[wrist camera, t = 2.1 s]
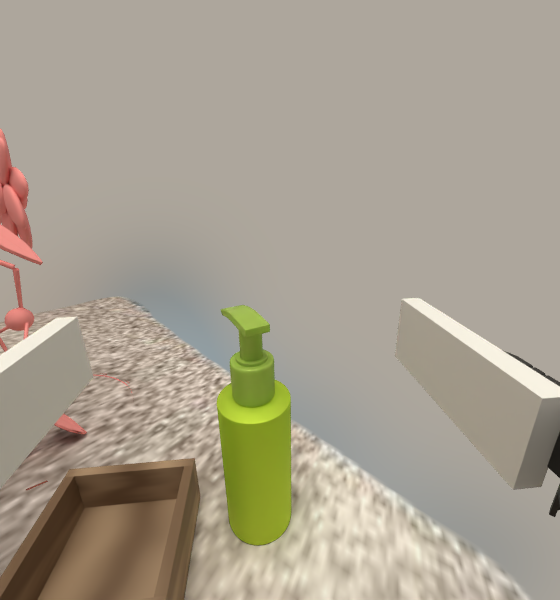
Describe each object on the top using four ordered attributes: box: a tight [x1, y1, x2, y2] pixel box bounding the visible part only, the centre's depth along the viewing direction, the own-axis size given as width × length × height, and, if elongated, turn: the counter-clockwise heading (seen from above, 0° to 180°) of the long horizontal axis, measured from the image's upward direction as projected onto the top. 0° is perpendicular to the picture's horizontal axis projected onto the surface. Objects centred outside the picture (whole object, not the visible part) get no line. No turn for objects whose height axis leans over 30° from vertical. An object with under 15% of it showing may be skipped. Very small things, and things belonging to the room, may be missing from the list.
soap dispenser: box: [217, 305, 291, 545], centre depth 26 cm, size 6×7×20 cm
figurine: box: [0, 129, 134, 490], centre depth 37 cm, size 15×26×35 cm, turn 49°
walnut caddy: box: [0, 458, 200, 600], centre depth 24 cm, size 11×11×5 cm
